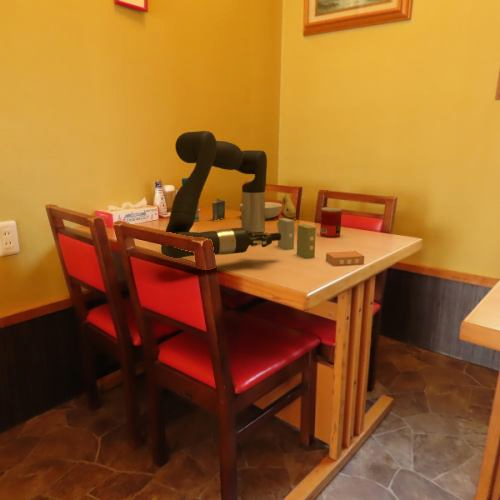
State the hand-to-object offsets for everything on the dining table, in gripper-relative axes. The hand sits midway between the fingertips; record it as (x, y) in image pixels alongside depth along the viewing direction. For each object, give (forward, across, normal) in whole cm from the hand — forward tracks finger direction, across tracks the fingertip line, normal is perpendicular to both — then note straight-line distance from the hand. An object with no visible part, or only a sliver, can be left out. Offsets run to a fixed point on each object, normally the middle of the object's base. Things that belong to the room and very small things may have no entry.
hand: (279, 236), depth 130 cm
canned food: (+36, +21, +7) cm, 43 cm away
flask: (+10, +74, +7) cm, 75 cm away
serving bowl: (+30, +69, +7) cm, 76 cm away
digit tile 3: (+12, -10, +6) cm, 17 cm away
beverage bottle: (-3, +78, +7) cm, 78 cm away
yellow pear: (+28, +40, +7) cm, 50 cm away
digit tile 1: (+10, +13, +8) cm, 18 cm away
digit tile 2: (+10, 0, +8) cm, 13 cm away
